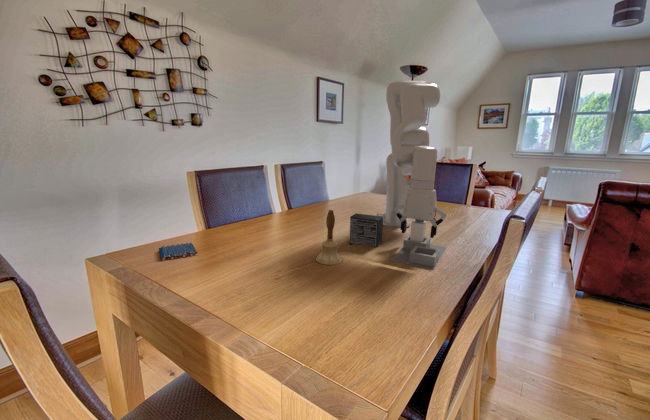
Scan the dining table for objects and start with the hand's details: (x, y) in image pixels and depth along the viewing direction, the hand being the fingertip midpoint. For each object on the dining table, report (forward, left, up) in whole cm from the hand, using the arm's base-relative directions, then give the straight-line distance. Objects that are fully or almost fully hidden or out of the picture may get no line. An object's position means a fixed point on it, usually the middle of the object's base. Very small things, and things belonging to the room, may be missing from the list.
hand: (417, 234), depth 108 cm
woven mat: (-65, -45, -6) cm, 80 cm away
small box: (-17, -4, -6) cm, 18 cm away
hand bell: (-21, -24, -6) cm, 33 cm away
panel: (+2, -5, -5) cm, 8 cm away
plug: (0, 0, -4) cm, 4 cm away
